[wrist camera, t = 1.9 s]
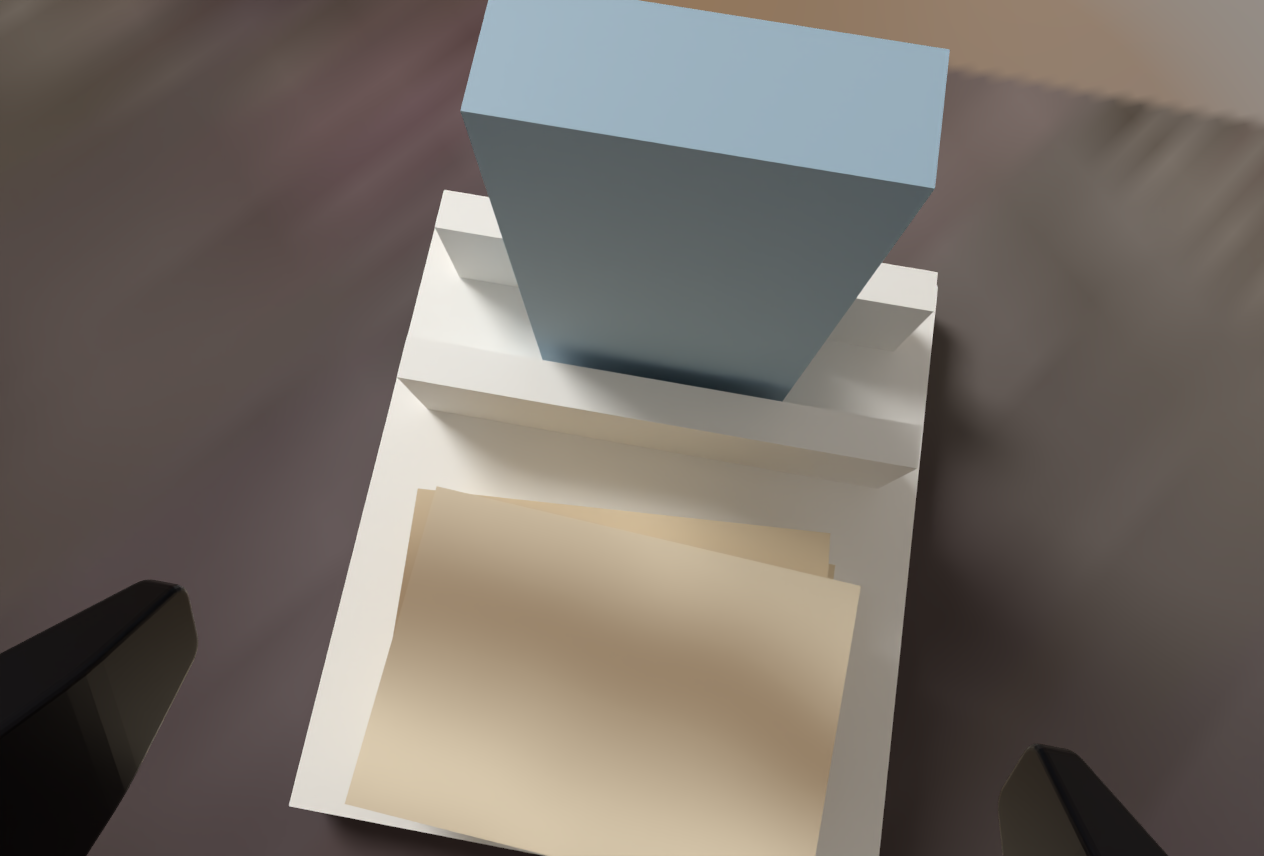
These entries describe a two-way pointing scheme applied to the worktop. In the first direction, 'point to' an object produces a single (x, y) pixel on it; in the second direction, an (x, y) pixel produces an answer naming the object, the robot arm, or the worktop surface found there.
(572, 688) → the offcut stack
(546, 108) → the blue rectangular block
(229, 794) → the worktop surface
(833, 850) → the rack
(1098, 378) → the worktop surface
